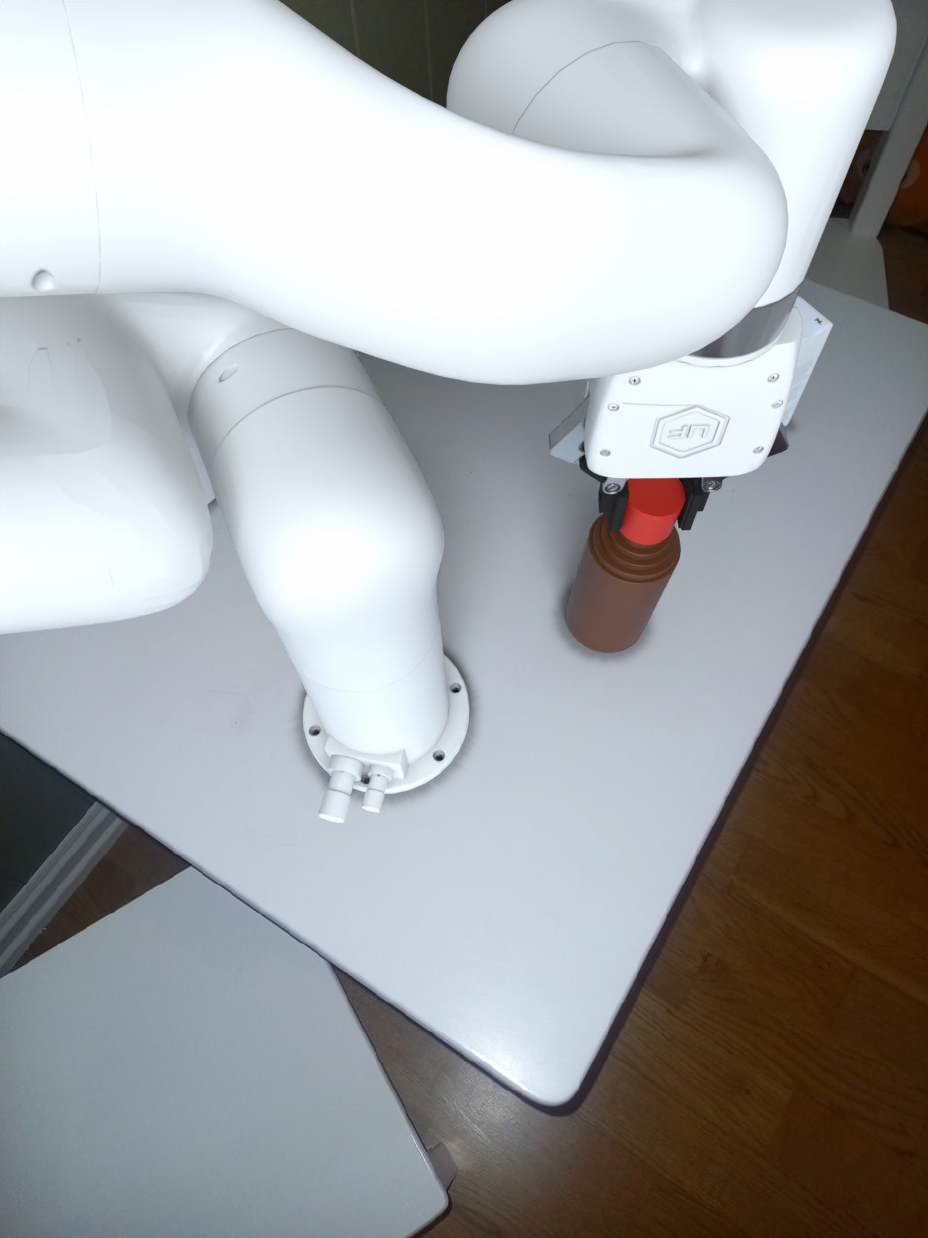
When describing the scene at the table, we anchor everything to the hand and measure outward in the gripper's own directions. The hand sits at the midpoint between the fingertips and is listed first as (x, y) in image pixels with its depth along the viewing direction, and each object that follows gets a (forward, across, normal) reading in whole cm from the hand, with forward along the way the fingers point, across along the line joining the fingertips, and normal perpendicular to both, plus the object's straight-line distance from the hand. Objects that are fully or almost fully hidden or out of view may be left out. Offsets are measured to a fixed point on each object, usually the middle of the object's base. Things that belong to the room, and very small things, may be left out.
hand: (647, 511), depth 55 cm
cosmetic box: (+15, +14, +20) cm, 28 cm away
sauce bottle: (+14, -1, 0) cm, 14 cm away
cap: (+1, 0, 0) cm, 1 cm away
